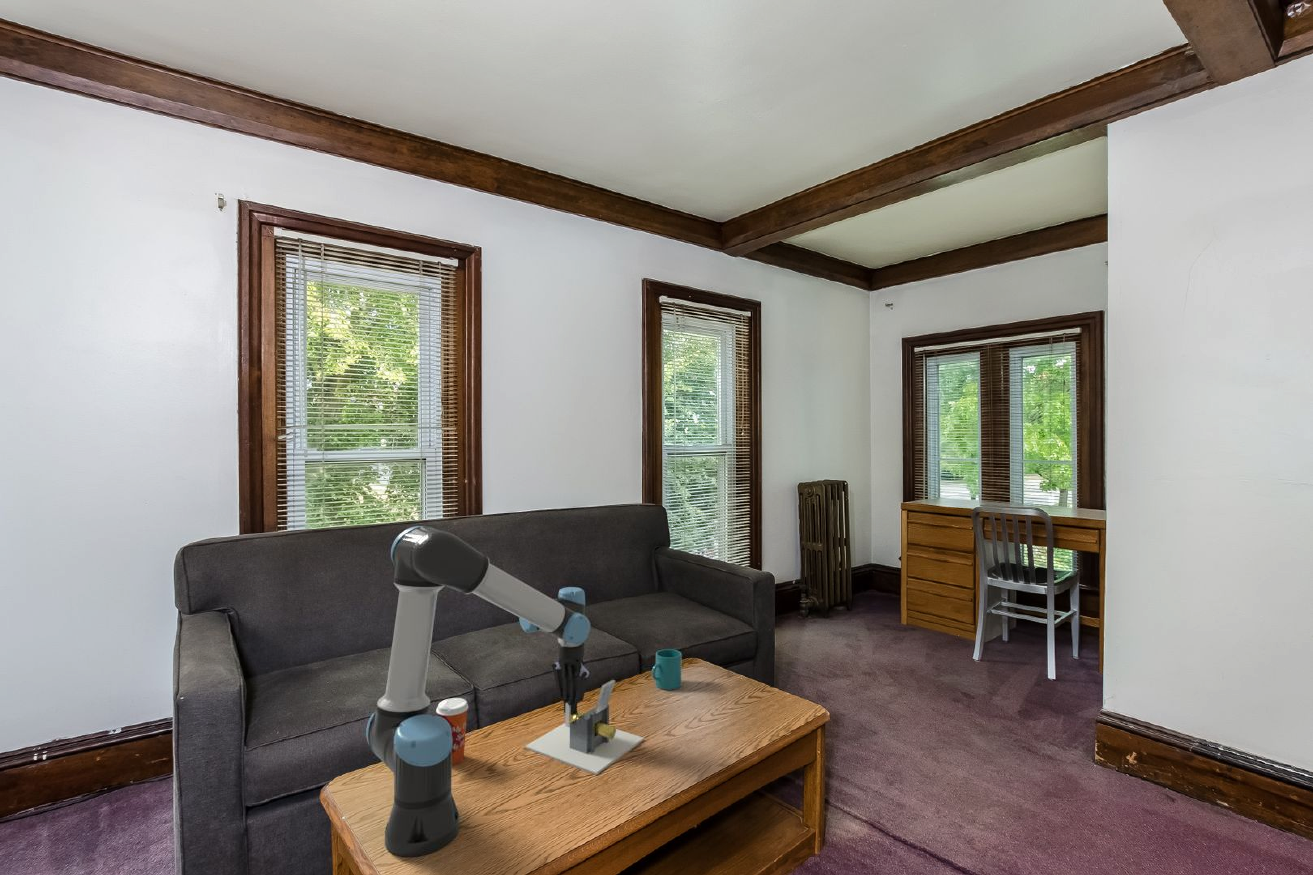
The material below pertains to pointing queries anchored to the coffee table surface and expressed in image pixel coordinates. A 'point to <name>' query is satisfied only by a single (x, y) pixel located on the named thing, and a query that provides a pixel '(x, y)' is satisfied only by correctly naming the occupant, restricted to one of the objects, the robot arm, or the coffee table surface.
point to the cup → (668, 669)
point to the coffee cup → (455, 724)
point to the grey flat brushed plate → (604, 696)
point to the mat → (559, 749)
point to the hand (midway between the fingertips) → (570, 724)
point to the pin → (598, 727)
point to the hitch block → (588, 731)
